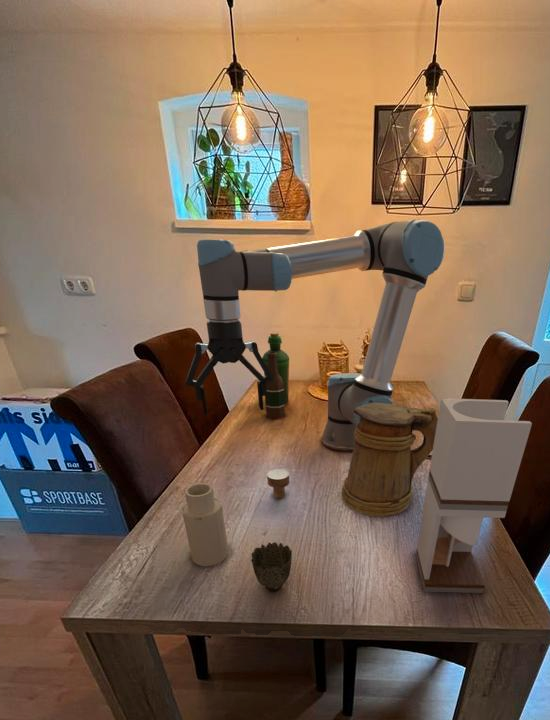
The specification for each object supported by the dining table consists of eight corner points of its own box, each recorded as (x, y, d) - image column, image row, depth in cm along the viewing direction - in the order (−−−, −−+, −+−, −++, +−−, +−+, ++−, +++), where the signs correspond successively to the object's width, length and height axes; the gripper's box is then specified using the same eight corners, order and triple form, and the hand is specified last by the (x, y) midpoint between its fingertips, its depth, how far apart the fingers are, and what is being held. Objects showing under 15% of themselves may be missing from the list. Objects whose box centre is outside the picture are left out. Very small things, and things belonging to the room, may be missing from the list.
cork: (290, 489, 107) (289, 468, 104) (289, 501, 102) (288, 479, 99) (269, 490, 106) (267, 468, 103) (267, 501, 102) (266, 479, 98)
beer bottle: (281, 420, 151) (278, 355, 138) (262, 417, 152) (257, 353, 140) (288, 413, 157) (285, 351, 145) (269, 411, 158) (265, 349, 146)
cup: (256, 573, 79) (253, 541, 75) (293, 572, 80) (292, 540, 76) (252, 601, 73) (248, 569, 68) (292, 600, 73) (291, 567, 69)
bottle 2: (295, 400, 170) (292, 332, 156) (283, 408, 162) (280, 336, 147) (273, 397, 173) (268, 330, 159) (260, 404, 164) (255, 334, 150)
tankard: (337, 482, 111) (339, 396, 99) (417, 479, 114) (430, 395, 102) (346, 519, 96) (350, 423, 83) (438, 515, 99) (456, 421, 86)
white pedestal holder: (424, 591, 76) (456, 420, 59) (415, 555, 85) (441, 398, 68) (482, 592, 77) (532, 423, 59) (468, 556, 86) (506, 400, 68)
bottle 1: (231, 542, 87) (221, 479, 79) (225, 565, 81) (214, 499, 72) (196, 543, 86) (184, 480, 78) (188, 566, 80) (173, 500, 72)
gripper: (275, 316, 95) (280, 401, 106) (164, 318, 88) (181, 409, 99) (282, 321, 89) (286, 411, 100) (162, 323, 82) (181, 420, 93)
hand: (234, 410), depth 99 cm, fingers open, 13 cm apart
